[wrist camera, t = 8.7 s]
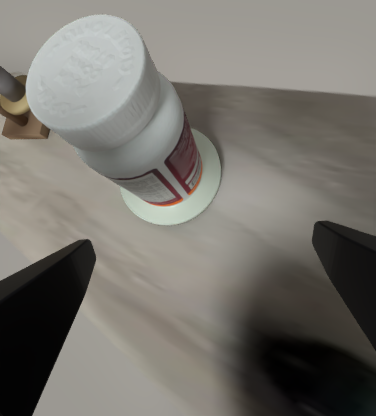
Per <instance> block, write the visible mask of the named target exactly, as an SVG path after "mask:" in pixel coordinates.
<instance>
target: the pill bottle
mask: <svg viewBox="0 0 376 416" xmlns="http://www.w3.org/2000/svg"><path fill="white" fill-rule="evenodd" d="M26 97H27V102H28V104H29V107H30V109H31V111H32V113H33V114H34V116H35V117H36V118H37V119H38V120H39V121H40V122H41V123H43V124H44V125H45V126H47V127H48V128H49V129H51V130H52V131H54V132H55V133H56V134H58V135H59V136H60V137H61V138H62V139H64V140H65V141H67V142H68V143H69V144H71V145H73V147H74V149H75V151H76V153H77V154H78V156H79V157H80V158H81V159H82V160H83V162H84V163H86V164H87V165H88V166H89V167H90V168H92V169H93V170H95V171H96V172H98V173H99V174H101V175H103V176H105V177H106V178H108V179H110V180H111V181H113V182H115V183H116V184H118V185H119V186H121V187H123V188H124V189H126V190H127V191H129V192H131V193H132V194H134V195H135V196H137V197H139V198H140V199H142V200H144V201H145V202H147V203H149V204H151V205H154V206H158V207H171V206H175V205H178V204H180V203H182V202H184V201H185V200H187V199H188V198H189V197H190V196H192V194H193V193H194V192H195V191H196V190H197V188H198V186H199V184H200V182H201V178H202V173H203V166H202V160H201V157H200V153H199V151H198V148H197V145H196V142H195V140H194V137H193V134H192V131H191V128H190V126H189V123H188V120H187V117H186V115H185V112H184V109H183V106H182V103H181V100H180V98H179V96H178V94H177V92H176V90H175V88H174V87H173V85H172V84H171V82H170V81H169V80H168V79H167V78H166V77H165V76H164V75H162V74H161V73H160V72H158V71H157V69H156V67H155V65H154V62H153V61H152V59H151V57H150V54H149V52H148V49H147V47H146V45H145V43H144V40H143V38H142V37H141V35H140V33H139V32H138V31H137V29H136V28H135V27H134V26H133V25H132V24H130V23H129V22H128V21H126V20H124V19H122V18H119V17H116V16H113V15H103V14H101V15H92V16H87V17H83V18H80V19H78V20H75V21H73V22H71V23H69V24H67V25H66V26H64V27H62V28H61V29H60V30H58V31H57V32H56V33H55V34H53V35H52V36H51V37H50V38H49V39H48V40H47V41H46V42H45V44H44V45H43V46H42V47H41V49H40V50H39V51H38V53H37V55H36V56H35V58H34V60H33V62H32V64H31V66H30V69H29V72H28V75H27V80H26Z"/></svg>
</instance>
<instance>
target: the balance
mask: <svg viewBox="0 0 376 416" xmlns="http://www.w3.org/2000/svg"><path fill="white" fill-rule="evenodd" d="M26 80H27V76H26V75H21V76H17V77H15V78H14V77H13V76H12V75H11V74H10V73H8V72H7V71H6V70H5V69H3V68H2V67H1V66H0V94H1V95H0V114H2V115H3V116H5V117H6V121H5V125H4V128H3V131H2V135H3V136H5V137H7V138H9V139H47V138H48V134H49V130H50V129H49V128H48V127H47V126H45V125H44V124H43V123H41V122H40V121H39V120H38V119H37V118H36V117H35V116H34V114H33V113H32V111H31V109H30V107H29V104H28V102H27V97H26Z"/></svg>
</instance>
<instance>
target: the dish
mask: <svg viewBox="0 0 376 416" xmlns="http://www.w3.org/2000/svg"><path fill="white" fill-rule="evenodd" d="M191 131H192V134H193V137H194V140H195V142H196V145H197V148H198V151H199V153H200V157H201V160H202V166H203V173H202V178H201V182H200V184H199V186H198V188H197V190H196V191H195V192H194V193H193V194H192V196H190V197H189V198H188V199H187V200H185V201H184V202H182V203H180V204H178V205H175V206H171V207H158V206H154V205H151V204H149V203H147V202H145V201H144V200H142V199H140V198H139V197H137V196H135V195H134V194H132V193H131V192H129V191H127V190H126V189H124V188H123V187H121V186H120V190H121V193H122V196H123V199H124V201H125V203H126V204H127V206H128V207H129V208H130V210H131V211H132V212H133V213H135V214H136V215H137V216H138V217H140V218H142V219H143V220H146V221H148V222H150V223H153V224H157V225H163V226H172V225H179V224H182V223H185V222H188V221H190V220H192V219H194V218H196V217H197V216H199V215H200V214H201V213H203V212H204V211H205V210H206V209H207V208H208V206H209V205H210V204H211V203H212V201H213V199H214V198H215V196H216V194H217V192H218V189H219V185H220V181H221V165H220V160H219V156H218V153H217V151H216V149H215V147H214V145H213V144H212V142H211V141H210V140H209V139H208V138H207V137H206V136H205V135H203V134H202V133H201V132H199V131H197V130H195V129H193V128H191Z"/></svg>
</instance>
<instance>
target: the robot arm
mask: <svg viewBox="0 0 376 416" xmlns="http://www.w3.org/2000/svg"><path fill="white" fill-rule="evenodd" d="M312 244H313V247H314V249H315V251H316V253H317V255H318V257H319V259H320V261H321V263H322V265H323V267H324V269H325V271H326V273H327V275H328V277H329V279H330V280H331V282H332V283H333V285H334V287H335V288H336V290H337V291H338V293H339V294H340V296H341V298H342V299H343V301H344V302H345V304H346V305H347V307H348V308H349V310H350V311H351V313H352V315H353V316H354V318H355V319H356V321H357V322H358V324H359V325H360V327H361V329H362V330H363V332H364V333H365V335H366V336H367V338H368V339H369V341H370V343H371V344H372V346H373V347H374V349H375V350H376V236H373V235H370V234H367V233H364V232H361V231H358V230H355V229H352V228H348V227H345V226H342V225H339V224H336V223H333V222H330V221H317V222H316V223H315V225H314V230H313V237H312ZM95 262H96V255H95V252H94V249H93V246H92V243H91V241H90V240H89V239H84V240H78V241H76V242H74V243H72V244H70V245H68V246H66V247H64V248H62V249H61V250H59V251H57V252H55V253H53V254H51V255H49V256H47V257H45V258H43V259H41V260H39V261H38V262H36V263H34V264H32V265H30V266H28V267H26V268H24V269H22V270H20V271H18V272H17V273H15V274H13V275H11V276H9V277H7V278H5V279H3V280H1V281H0V416H32V415H33V413H34V410H35V408H36V406H37V403H38V401H39V399H40V397H41V394H42V392H43V390H44V387H45V385H46V383H47V381H48V378H49V376H50V374H51V371H52V369H53V367H54V364H55V362H56V360H57V358H58V355H59V353H60V351H61V349H62V346H63V344H64V342H65V339H66V337H67V335H68V333H69V330H70V328H71V326H72V324H73V321H74V319H75V317H76V314H77V312H78V310H79V308H80V305H81V303H82V301H83V298H84V296H85V293H86V290H87V288H88V284H89V281H90V278H91V275H92V272H93V268H94V265H95Z"/></svg>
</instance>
